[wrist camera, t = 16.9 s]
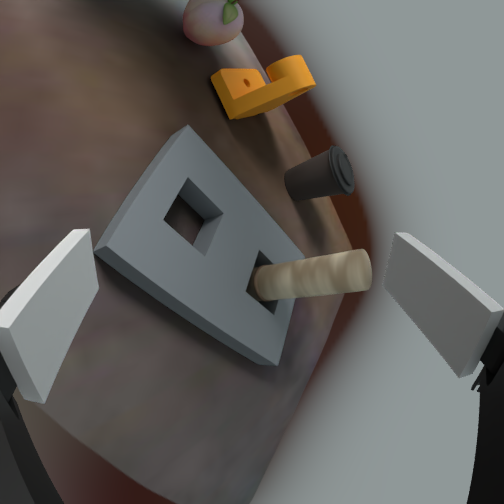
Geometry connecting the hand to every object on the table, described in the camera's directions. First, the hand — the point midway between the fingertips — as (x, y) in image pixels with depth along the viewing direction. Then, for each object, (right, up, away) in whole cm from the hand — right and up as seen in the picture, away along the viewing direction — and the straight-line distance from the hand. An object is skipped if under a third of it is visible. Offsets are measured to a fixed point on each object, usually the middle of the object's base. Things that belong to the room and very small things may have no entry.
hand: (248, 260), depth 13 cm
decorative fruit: (-9, +31, +25) cm, 41 cm away
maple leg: (0, -4, +26) cm, 26 cm away
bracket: (-2, +24, +31) cm, 39 cm away
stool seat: (-4, 0, +22) cm, 23 cm away
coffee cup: (+7, +11, +39) cm, 41 cm away
